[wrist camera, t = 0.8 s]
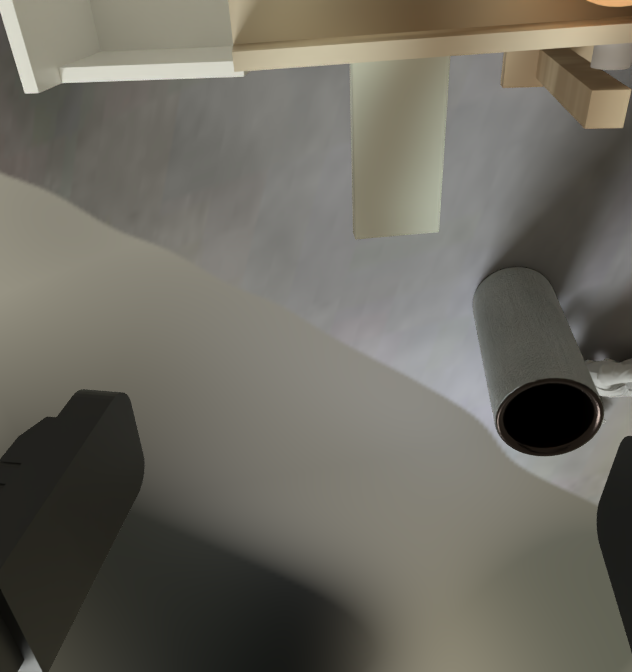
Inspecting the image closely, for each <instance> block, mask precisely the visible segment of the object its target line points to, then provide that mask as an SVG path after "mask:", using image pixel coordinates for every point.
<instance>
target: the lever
mask: <svg viewBox="0 0 632 672" xmlns="http://www.w3.org/2000/svg"><path fill="white" fill-rule="evenodd" d="M228 4H229V13H230V21H231V30H232V38H233V49H232V57H233V65H234V72H240V71H253V70H267V69H281V68H294V67H308V66H322V65H335V64H349V63H350V101H351V151H352V200H353V234H354V236H355V239H365V238H377V237H388V236H400V235H411V234H422V233H434V232H439V222H440V207H441V191H442V176H443V160H444V145H445V129H446V113H447V98H448V82H449V67H450V56H458V55H471V54H485V53H499V52H512V51H526V50H540V49H553V48H567V47H580V46H594V49H593V54H592V60H591V65H590V67H591V68H594V69H601V70H623V69H628V68H630V67H631V64H632V5H630V6H623V7H609V6H602V5H598V4H595V3H592V2H589V1H586V0H228Z"/></svg>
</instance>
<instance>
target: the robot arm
mask: <svg viewBox="0 0 632 672" xmlns="http://www.w3.org/2000/svg"><path fill="white" fill-rule="evenodd" d="M143 475H144V456H143V451H142V447H141V443H140V438H139V435H138V430H137V426H136V422H135V417H134V414H133V409H132V405H131V401H130V399H129V397H128V395H127V394H125V393H121V392H109V391H97V390H85V389H83V390H79V391H77V392H76V393H75V394H74V395H73V396H72V398H71V399H70V400H69V401H68V403H67V404H66V406H65V407H64V408H63V410H62V411H61V412H60V413H59V415H58V416H57V417H46V418H44V419H43V420H41V421H40V422H38V423H37V424H36V425H34V426H33V427H31V428H30V429H29V430H27V431H26V432H24V433H23V434H22V435H20V436H19V437H18V438H17V439H16V440H15V442H14V443H13V444H12V445H11V447H10V448H9V449H8V450H7V451H6V453H5V454H4V455H3V456H2V458H1V459H0V672H48V671H49V669H50V668H51V666H52V664H53V662H54V660H55V658H56V656H57V653H58V651H59V650H60V648H61V646H62V644H63V642H64V640H65V638H66V636H67V634H68V632H69V630H70V628H71V626H72V624H73V622H74V620H75V618H76V616H77V614H78V612H79V610H80V608H81V606H82V604H83V602H84V600H85V598H86V596H87V594H88V592H89V590H90V588H91V586H92V584H93V582H94V580H95V579H96V577H97V574H98V573H99V571H100V568H101V567H102V565H103V563H104V561H105V559H106V557H107V555H108V553H109V551H110V549H111V547H112V545H113V543H114V541H115V539H116V537H117V535H118V533H119V531H120V529H121V527H122V525H123V523H124V521H125V519H126V517H127V515H128V513H129V511H130V509H131V507H132V505H133V503H134V501H135V499H136V497H137V495H138V493H139V491H140V488H141V485H142V481H143ZM597 534H598V540H599V544H600V548H601V551H602V554H603V558H604V561H605V565H606V568H607V571H608V575H609V578H610V581H611V584H612V588H613V591H614V595H615V598H616V601H617V605H618V608H619V612H620V615H621V618H622V621H623V625H624V628H625V632H626V635H627V638H628V642H629V645H630V648H631V652H632V436H627V437H625V438H624V439H623V440H622V442H621V443H620V446H619V448H618V451H617V454H616V457H615V459H614V462H613V465H612V468H611V470H610V473H609V476H608V479H607V482H606V484H605V487H604V490H603V493H602V495H601V498H600V501H599V504H598V510H597Z"/></svg>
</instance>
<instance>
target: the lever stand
mask: <svg viewBox="0 0 632 672" xmlns="http://www.w3.org/2000/svg"><path fill="white" fill-rule="evenodd" d="M593 49H594V46H580V47H567V48H553V49H540V50H526V51H512V52H504V56H503V65H502V74H501V86H502V87H503V88H515V87H545V88H546V89H547V90H548V91H549V92H550V93H551V94H552V95H553V96H554V97H555V98H556V99H557V100H558V101H559V102H560V103H561V105H562V106H563V107H564V108H565V109H566V110H567V111H568V112H569V113H570V114H571V115H572V116H573V117H574V118H575V119H576V120H577V121H578V122H579V123H580V124H581V125H582V126H583V127H584V128H585V129H599V128H623V125H624V121H625V116H626V112H627V107H628V103H629V98H630V94H631V89H630V88H628V87H627V86H625V85H624V84H622V83H621V82H619V81H618V80H616V79H615V78H613V77H612V76H610V75H609V74H607V73H606V72H604V71H603V70H601V69H594V68H591V67H590V65H591V60H592V54H593Z"/></svg>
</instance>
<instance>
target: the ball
mask: <svg viewBox="0 0 632 672" xmlns="http://www.w3.org/2000/svg"><path fill="white" fill-rule="evenodd" d="M586 1H589V2H592V3H595V4H598V5H602V6H609V7H623V6H630V5H632V0H586Z"/></svg>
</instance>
